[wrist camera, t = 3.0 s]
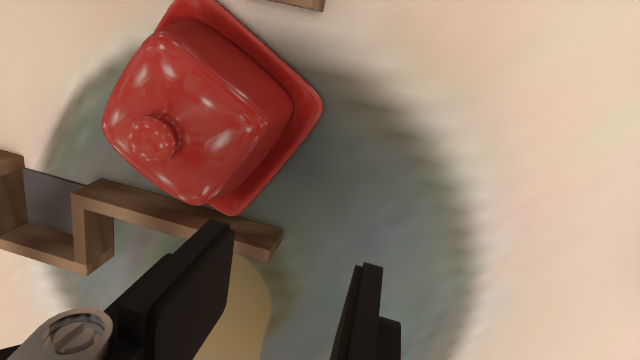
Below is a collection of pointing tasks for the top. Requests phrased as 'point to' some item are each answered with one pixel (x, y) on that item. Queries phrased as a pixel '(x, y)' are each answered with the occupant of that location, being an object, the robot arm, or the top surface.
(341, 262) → the top surface
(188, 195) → the butter dish
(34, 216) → the trap lane
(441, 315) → the top surface
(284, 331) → the top surface
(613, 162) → the top surface
